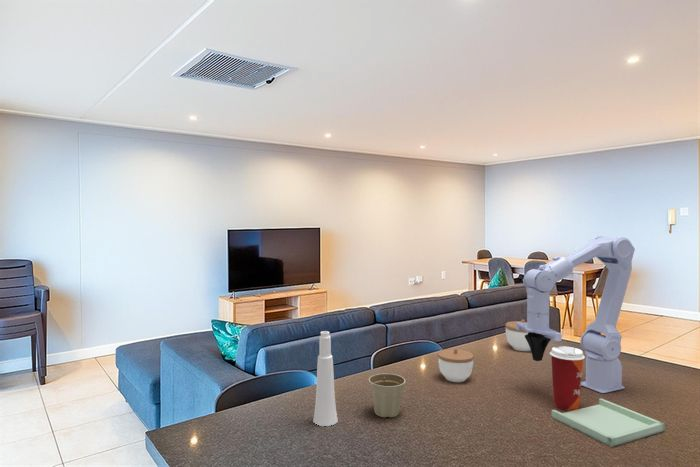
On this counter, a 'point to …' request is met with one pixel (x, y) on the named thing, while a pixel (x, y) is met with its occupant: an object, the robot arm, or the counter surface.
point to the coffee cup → (567, 377)
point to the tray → (610, 423)
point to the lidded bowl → (516, 336)
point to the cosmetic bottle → (325, 384)
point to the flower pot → (386, 393)
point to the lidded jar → (455, 364)
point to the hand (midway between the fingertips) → (537, 360)
